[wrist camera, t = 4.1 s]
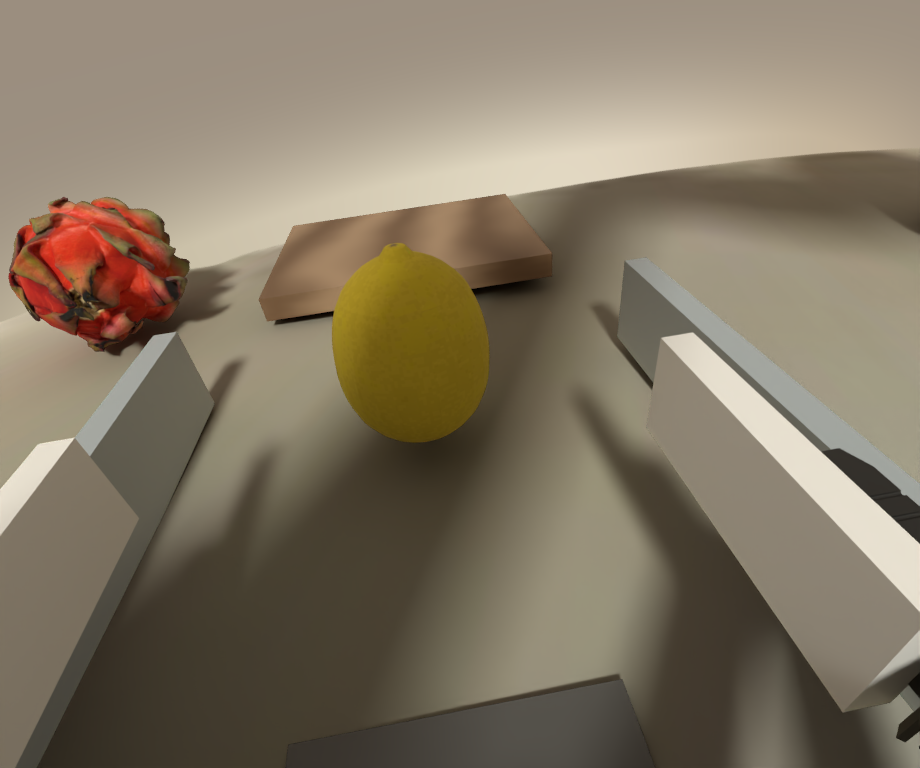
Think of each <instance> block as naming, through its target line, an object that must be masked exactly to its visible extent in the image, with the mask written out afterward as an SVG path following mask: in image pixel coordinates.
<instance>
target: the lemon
mask: <svg viewBox="0 0 920 768" xmlns="http://www.w3.org/2000/svg"><path fill="white" fill-rule="evenodd" d="M332 345H333V354H334V360H335V365H336V370H337V374H338V378H339V381H340V384H341V387H342V389H343V392H344V394H345V396H346V398H347V400H348V402H349V403H350V405H351V406H352V408H353V409H354V410H355V411H356V413H357V414H358V415H359V416H360V418H361V419H362V420H363V421H364V422H365V423H366V424H367V425H369V426H370V427H371V428H372V429H374V430H376V431H377V432H379V433H381V434H382V435H384V436H386V437H389V438H392V439H395V440H398V441H402V442H411V443H418V442H428V441H432V440H436V439H440V438H442V437H444V436H447V435H449V434H450V433H452V432H453V431H455V430H456V429H458V428H459V427H461V426H462V425H463V424H464V423H465V422H466V421H467V420H468V419H469V418H470V416H471V415H472V414H473V413H474V412H475V410H476V409H477V407H478V405H479V403H480V401H481V399H482V397H483V394H484V392H485V389H486V385H487V381H488V375H489V340H488V333H487V328H486V324H485V321H484V317H483V314H482V311H481V309H480V306H479V304H478V301H477V299H476V297H475V295H474V294H473V292H472V290H471V288H470V286H469V285H468V283H467V282H466V280H465V279H464V278H463V277H462V275H460V274H459V273H458V272H457V271H456V270H455V269H454V268H452V267H451V266H449V265H448V264H446V263H445V262H443V261H442V260H440V259H438V258H436V257H434V256H431V255H428V254H425V253H421V252H416V251H412V250H411V249H410V248H408V247H407V246H406V245H405V244H403V243H393V244H389V245H386V246H385V247H384V248H383V250H382V252H381V253H380V255H379V256H378V257H375V258H374V259H372V260H370V261H369V262H367V263H365V264H364V265H362V266H361V267H360V268H359V269H358V270H357V271H356V272H355V273H354V274H353V275H352V276H351V278H350V279H349V280H348V281H347V283H346V284H345V285H344V287H343V289H342V291H341V292H340V295H339V298H338V301H337V304H336V306H335V310H334V315H333V323H332Z"/></svg>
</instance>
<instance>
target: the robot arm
mask: <svg viewBox="0 0 920 768" xmlns="http://www.w3.org/2000/svg"><path fill="white" fill-rule="evenodd" d="M646 428H647V429H648V431H649V432H650V434H651V435H652V437H653V438H654V440H655V441H656V442H657V444H658V445H659V447H660V448H661V450H662V451H663V453H664V454H665V455H666V457H667V458H668V460H669V461H670V463H671V464H672V466H673V467H674V469H675V470H676V471H677V473H678V474H679V476H680V477H681V479H682V480H683V482H684V483H685V484H686V486H687V487H688V489H689V490H690V492H691V493H692V495H693V496H694V498H695V499H696V500H697V502H698V503H699V505H700V506H701V508H702V509H703V511H704V512H705V513H706V515H707V516H708V518H709V519H710V521H711V522H712V524H713V525H714V527H715V528H716V529H717V531H718V532H719V534H720V535H721V537H722V538H723V540H724V541H725V542H726V544H727V545H728V547H729V548H730V550H731V551H732V553H733V554H734V556H735V557H736V558H737V560H738V561H739V563H740V564H741V566H742V567H743V569H744V570H745V571H746V573H747V574H748V576H749V577H750V579H751V580H752V582H753V583H754V585H755V586H756V587H757V589H758V590H759V592H760V593H761V595H762V596H763V598H764V599H765V600H766V602H767V603H768V605H769V606H770V608H771V609H772V611H773V612H774V614H775V615H776V616H777V618H778V619H779V621H780V622H781V624H782V625H783V627H784V628H785V629H786V631H787V632H788V634H789V635H790V637H791V638H792V640H793V641H794V643H795V644H796V645H797V647H798V648H799V650H800V651H801V653H802V654H803V656H804V657H805V658H806V660H807V661H808V663H809V664H810V666H811V667H812V669H813V670H814V672H815V673H816V674H817V676H818V677H819V679H820V680H821V682H822V683H823V685H824V686H825V688H826V689H827V690H828V692H829V693H830V695H831V696H832V698H833V699H834V701H835V702H836V703H837V705H838V706H839V708H840V709H841V711H842V712H848V711H853V710H857V709H862V708H867V707H872V706H876V705H881V704H886V703H890V702H891V701H892V700H894V699H895V698H896V697H897V696H898V695H899V694H900V693H901V692H902V691H903V690H904V689H905V688H906V687H907V686H908V685H909V686H910V687H911V689H912V690H913V691H914V692H915V694H916V695H917V696H918V697H919V698H920V506H919V505H918V504H916V503H915V502H914V501H913V500H912V499H911V498H910V497H908V496H907V495H902V493H901V490H900V489H899V488H898V487H897V486H896V485H894V484H893V483H892V482H891V481H890V480H889V479H888V478H886V477H885V476H884V475H883V474H882V473H881V472H879V471H878V470H877V469H876V468H875V467H874V466H872V465H870V464H868V463H866V462H864V461H863V460H861V459H859V458H857V457H855V456H853V455H851V454H850V453H848V452H846V451H844V450H842V449H840V448H837V449H831V450H826V451H820V450H819V449H818V448H816V447H815V446H814V445H813V444H812V443H811V442H810V441H809V440H808V439H807V438H806V437H805V436H804V435H803V434H801V433H800V432H799V431H798V430H797V429H796V428H795V427H794V426H793V425H792V424H791V423H790V422H789V421H788V420H786V419H785V418H784V417H783V416H782V415H781V414H780V413H779V412H778V411H777V410H776V409H775V408H774V407H773V406H771V405H770V404H769V403H768V402H767V401H766V400H765V399H764V398H763V397H762V396H761V395H760V394H759V393H757V392H756V391H755V390H754V389H753V388H752V387H751V386H750V385H749V384H748V383H747V382H746V381H745V380H744V379H742V378H741V377H740V376H739V375H738V374H737V373H736V372H735V371H734V370H733V369H732V368H731V367H730V366H729V365H727V364H726V363H725V362H724V361H723V360H722V359H721V358H720V357H719V356H718V355H717V354H716V353H715V352H714V351H712V350H711V349H710V348H709V347H708V346H707V345H706V344H705V343H704V342H703V341H702V340H701V339H700V338H699V337H697V336H696V335H695V334H694V333H693V332H692V333H686V334H680V335H675V336H669V337H663V338H661V340H660V346H659V352H658V358H657V364H656V370H655V377H654V383H653V389H652V395H651V401H650V407H649V413H648V419H647V425H646ZM138 520H139V517H138V516H137V515H136V514H135V512H134V511H133V510H132V509H131V507H130V506H129V505H128V504H127V502H126V501H125V500H124V499H123V497H122V496H121V495H120V494H119V492H118V491H117V490H116V489H115V487H114V486H113V485H112V484H111V482H110V481H109V480H108V479H107V477H106V476H105V475H104V474H103V472H102V471H101V470H100V469H99V467H98V466H97V465H96V464H95V462H94V461H93V460H92V459H91V457H90V456H89V455H88V454H87V452H86V451H85V450H84V449H83V447H82V446H81V445H80V444H79V442H78V441H77V440H76V439H75V438H70V439H64V440H59V441H53V442H47V443H41V444H38V445H37V446H36V447H35V449H34V450H33V451H32V452H31V453H30V455H29V456H28V457H27V458H26V459H25V461H24V462H23V463H22V464H21V465H20V467H19V468H18V469H17V470H16V471H15V472H14V474H13V475H12V476H11V477H10V478H9V480H8V481H7V482H6V483H5V484H4V486H3V487H2V488H1V489H0V768H15V767H16V765H17V763H18V761H19V759H20V757H21V755H22V753H23V751H24V749H25V747H26V745H27V743H28V741H29V739H30V737H31V735H32V733H33V731H34V729H35V727H36V725H37V723H38V721H39V719H40V717H41V715H42V713H43V711H44V709H45V707H46V705H47V703H48V701H49V699H50V697H51V695H52V693H53V691H54V689H55V687H56V685H57V683H58V681H59V679H60V677H61V675H62V673H63V671H64V669H65V667H66V665H67V663H68V661H69V659H70V657H71V654H72V652H73V650H74V648H75V646H76V644H77V642H78V640H79V638H80V636H81V634H82V632H83V630H84V628H85V626H86V624H87V622H88V620H89V618H90V616H91V614H92V612H93V610H94V608H95V606H96V604H97V602H98V600H99V598H100V596H101V594H102V592H103V590H104V588H105V586H106V584H107V582H108V580H109V578H110V576H111V574H112V572H113V570H114V568H115V566H116V564H117V562H118V560H119V558H120V556H121V554H122V552H123V550H124V548H125V546H126V544H127V542H128V540H129V538H130V536H131V534H132V532H133V530H134V528H135V526H136V524H137V522H138ZM919 731H920V707H919V708H918V709H916V710H915V711H914V712H913V713H912V714H911V715H909V716H908V717H907V718H906V719H905V720H904V721H903V722H901V723H900V724H899V727H898V732H897V736H896V738H897V739H899V740H902V741H904V742H907V741H908V740H909V739H910V738H912V737H913V736H914V735H915V734H917V733H918V732H919ZM919 749H920V746H919Z"/></svg>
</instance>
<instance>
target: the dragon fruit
mask: <svg viewBox="0 0 920 768" xmlns="http://www.w3.org/2000/svg"><path fill="white" fill-rule="evenodd" d="M48 208H49V210H50V213H51V214H46V215H43V216H41V217H37V218H31V219H29V221H30V224H31V225H26V226H24V227H22V228H21V229H20V230H19V231H18V233H17V236H16V239H15V242H14V253H13V258H12V263H11V266H10V269H9V271H10V273H9V283H10V286H11V288H12V290H13V291H14V292H15V293H16V295H17V296H18V298H19V299H20V300H21V301H22V302H23V304H24V305H25V307H26V309H27V310H28V312H29V310H30V312H31V313H30V312H29V313H30V315H31V316H32V317H33V318H34V319H35V320H36V321H40V318H41V319H43V320H45V321H46V322H47V323H49V324H50V325H51V326H53V327H56V328H58V329H61V330H63V331H66V332H68V333H70V334H72V335H77V334H78V336H79V337H81V338H83V339H85V340H86V341H87V342H88V343H87V344H88V347H91V348H92V349H94V351H97V352H99V351H103V352H104V348H105V347H107V346H108V345H111V344H115V343H119V342H122V341H123V340H124V339H125V338H126V337H127V336H128V335H129V334H134V333H136V332H137V331H138V330H139V329H140V328H141V329H142V328H143V327H142V325H143V321H144V320H142V321H141V322H140V324H139V325H138V326H137V327H135V325H137V324H136V323H137V322H139V321H140V320H141V319H142V318H147V319H150V320H153V321H157V322H166V321H167V320H168V319H169V318H170V317H171V315H172V314H173V313H174V311H175V309H176V307H177V306H178V304H179V301H178V300H179V299H180V298H181V297H182V295H183V293H184V290H185V286H186V283H187V279H186V278H184V277H185V276H186V274H187V273H188V272H189V268H190V267H189V263H190V262H189V261H188V260H187V259H180V258H178V257H176V256H175V255H174V253H175V250H176V249H175V248H172V247H171V246H169V245H170V244H169V243H170V238H169V235H168V234H167V233H166V232H164V225H165V224H164V222H163V220H162V219H161V218H160V217H159V216H158V215H156V214H155V213H154V212H152V211H149V210H147V209H129V208H128V207H127V205H126V204H124V203H123V202H122V201H120V200H118V199H116V198H110V197H104V198H100V199H96V200H94V201H92V202H91V204H90V203H88V202H85V201H81V202H79V203H77V204H74V203H73V202H70V201H68V198H65V197H63V198H61V199H58V200H55V201H52V202H50V203H49V204H48Z"/></svg>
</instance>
